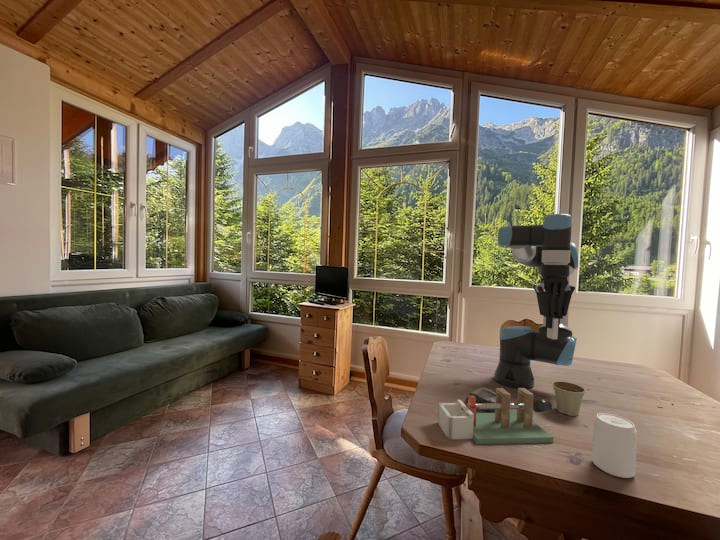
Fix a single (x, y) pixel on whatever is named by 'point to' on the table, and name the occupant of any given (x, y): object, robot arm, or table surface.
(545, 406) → the rod
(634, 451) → the beverage can
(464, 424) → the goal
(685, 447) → the table surface
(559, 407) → the flower pot
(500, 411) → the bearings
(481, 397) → the rock
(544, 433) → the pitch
